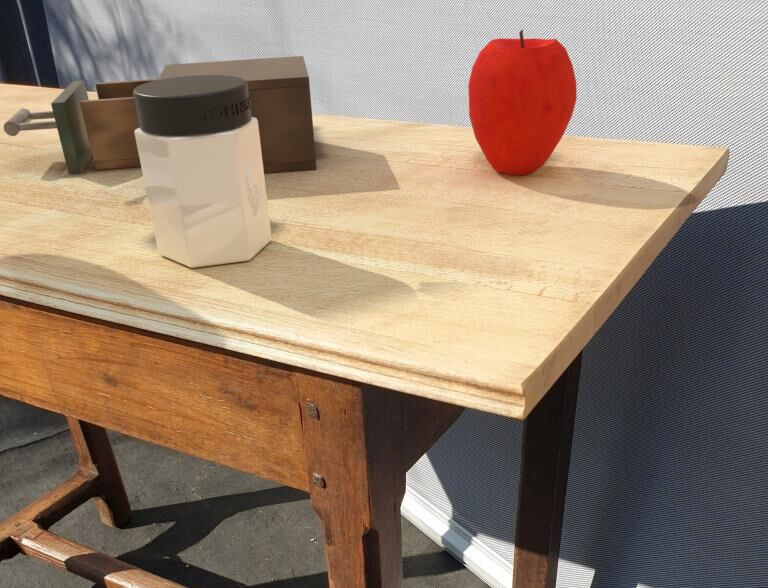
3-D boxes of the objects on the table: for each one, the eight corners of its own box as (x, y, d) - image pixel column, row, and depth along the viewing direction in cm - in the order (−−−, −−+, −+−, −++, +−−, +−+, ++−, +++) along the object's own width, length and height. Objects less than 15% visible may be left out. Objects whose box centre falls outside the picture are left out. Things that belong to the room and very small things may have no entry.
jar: (241, 272, 62) (216, 98, 55) (143, 265, 64) (107, 97, 57) (284, 232, 69) (267, 73, 62) (195, 227, 71) (168, 72, 64)
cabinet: (170, 180, 83) (153, 86, 78) (180, 149, 93) (165, 64, 88) (316, 169, 84) (308, 76, 79) (310, 139, 94) (303, 55, 89)
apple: (573, 157, 84) (585, 21, 77) (566, 186, 76) (578, 37, 69) (475, 155, 86) (478, 22, 79) (458, 183, 78) (459, 38, 71)
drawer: (9, 181, 81) (-12, 107, 78) (35, 152, 91) (17, 84, 87) (207, 166, 83) (195, 93, 79) (212, 139, 92) (202, 72, 88)
